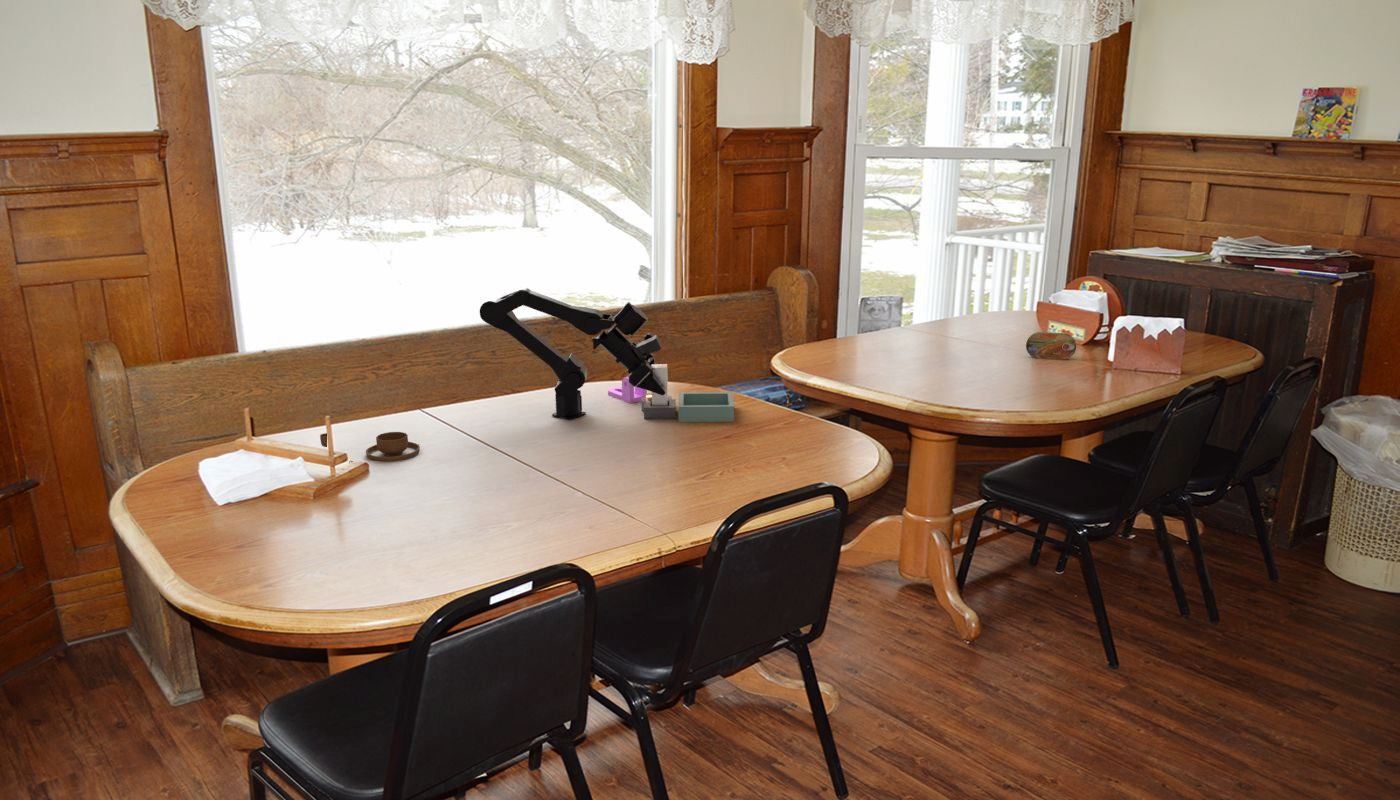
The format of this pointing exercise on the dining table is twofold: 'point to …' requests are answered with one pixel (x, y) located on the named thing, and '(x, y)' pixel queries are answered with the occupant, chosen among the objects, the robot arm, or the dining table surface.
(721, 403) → the tray
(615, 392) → the bracket
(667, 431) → the dining table surface
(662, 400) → the pin
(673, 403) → the tensioner bracket
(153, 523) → the dining table surface
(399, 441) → the place setting
